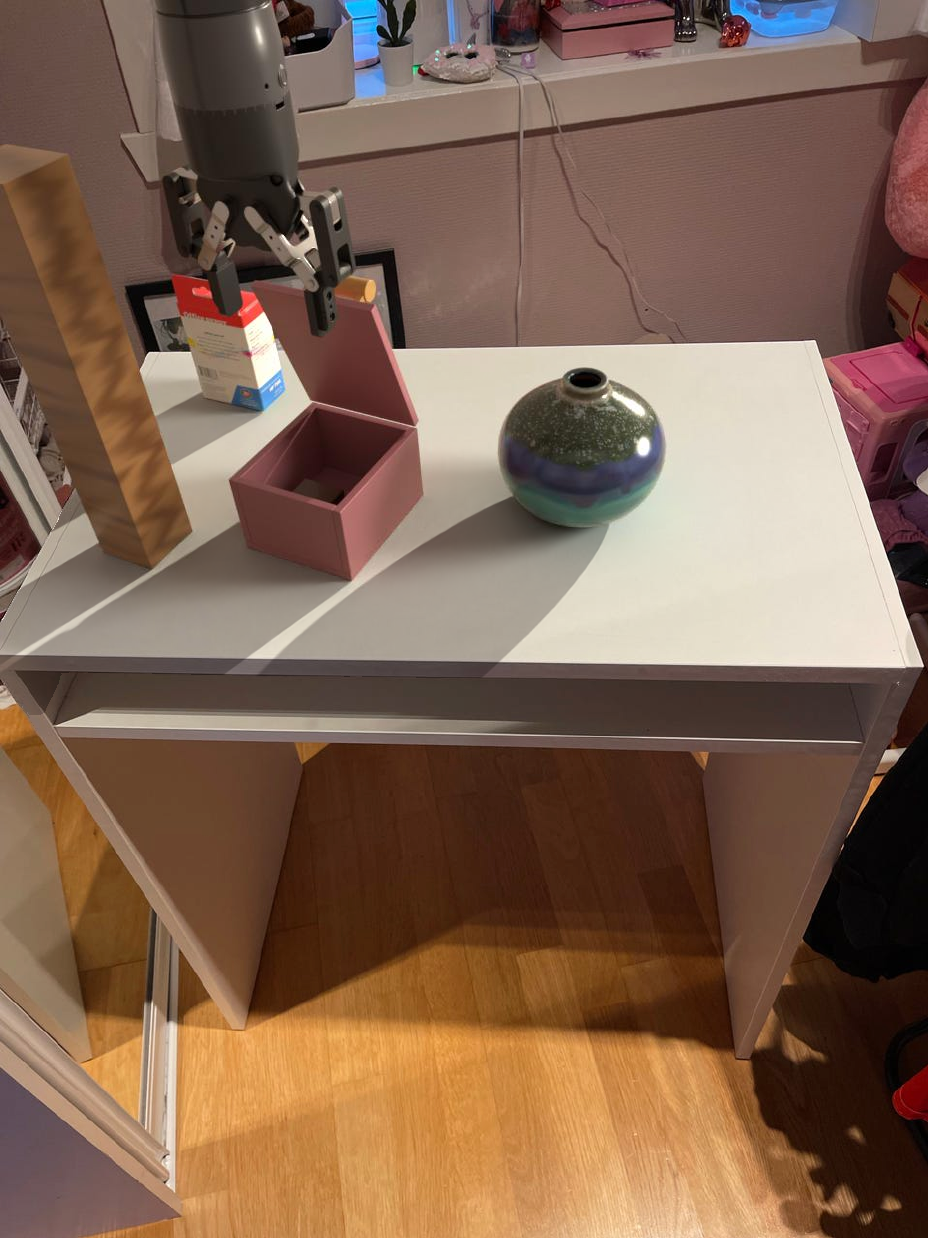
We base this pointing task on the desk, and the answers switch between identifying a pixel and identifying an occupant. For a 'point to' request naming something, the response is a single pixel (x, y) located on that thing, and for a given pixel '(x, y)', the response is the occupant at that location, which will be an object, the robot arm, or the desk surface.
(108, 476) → the pedestal
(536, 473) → the vase
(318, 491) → the block
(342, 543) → the chest
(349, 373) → the lid
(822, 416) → the desk surface
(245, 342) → the ink box
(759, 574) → the desk surface
